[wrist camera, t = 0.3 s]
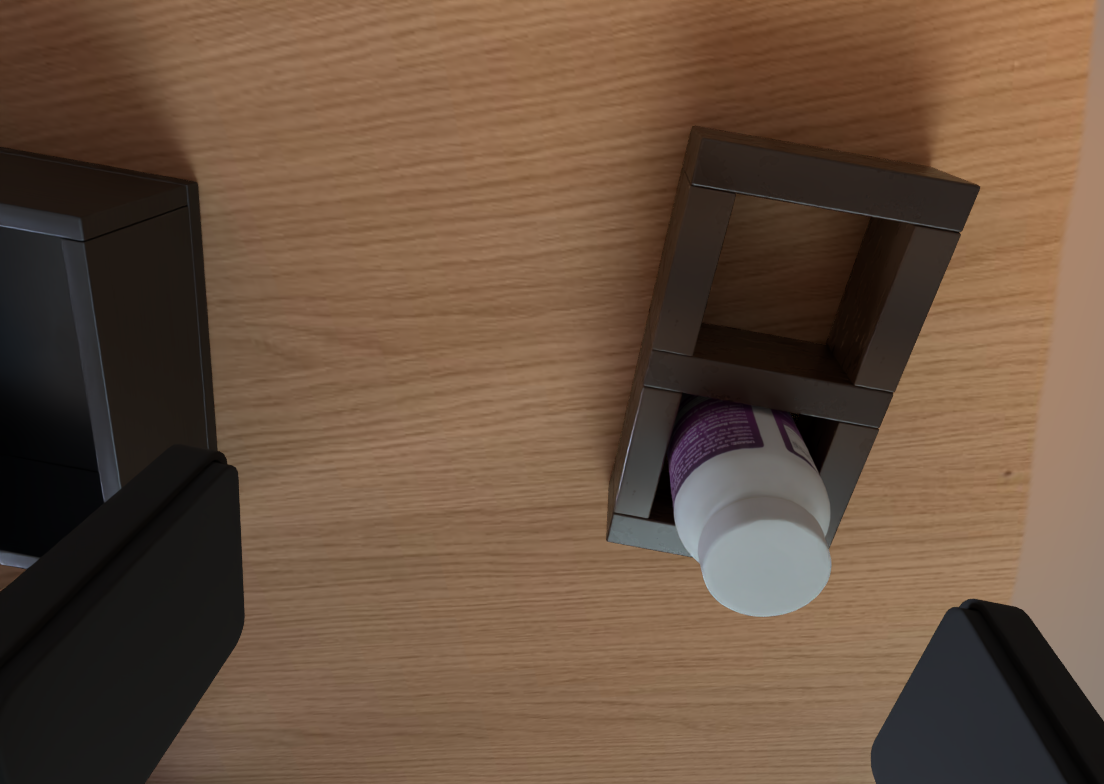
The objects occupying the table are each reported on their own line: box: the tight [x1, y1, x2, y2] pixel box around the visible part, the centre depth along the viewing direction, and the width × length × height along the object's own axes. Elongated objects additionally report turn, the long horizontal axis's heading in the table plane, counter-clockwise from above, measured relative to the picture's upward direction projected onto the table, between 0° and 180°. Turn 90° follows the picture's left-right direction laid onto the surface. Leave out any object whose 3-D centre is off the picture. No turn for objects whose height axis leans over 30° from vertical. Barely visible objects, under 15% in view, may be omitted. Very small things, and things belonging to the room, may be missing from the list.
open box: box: [0, 147, 217, 569], centre depth 29 cm, size 16×14×7 cm
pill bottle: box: [667, 393, 831, 617], centre depth 26 cm, size 5×5×10 cm
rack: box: [606, 126, 980, 557], centre depth 27 cm, size 16×9×4 cm, turn 171°
